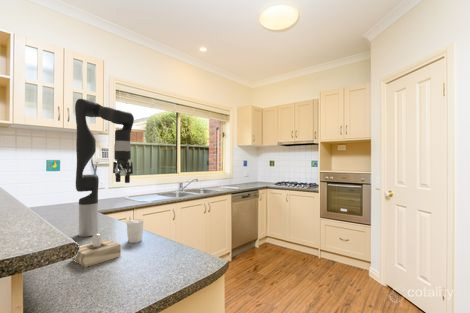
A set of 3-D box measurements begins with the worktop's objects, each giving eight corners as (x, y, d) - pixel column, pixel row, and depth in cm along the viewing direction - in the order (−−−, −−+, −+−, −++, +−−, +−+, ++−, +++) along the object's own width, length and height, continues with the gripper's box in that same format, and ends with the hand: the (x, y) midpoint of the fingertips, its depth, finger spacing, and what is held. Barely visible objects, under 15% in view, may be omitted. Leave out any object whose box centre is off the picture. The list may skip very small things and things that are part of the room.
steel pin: (91, 258, 102) (91, 234, 102) (98, 256, 104) (98, 232, 104) (94, 260, 100) (94, 235, 100) (102, 257, 103) (102, 234, 103)
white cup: (127, 239, 126) (127, 220, 127) (143, 237, 129) (143, 218, 129) (126, 244, 119) (126, 223, 119) (143, 242, 122) (143, 222, 122)
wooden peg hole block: (72, 260, 100) (72, 247, 100) (106, 249, 111) (106, 238, 111) (85, 267, 93) (85, 254, 93) (120, 255, 104) (120, 243, 104)
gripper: (108, 150, 123) (107, 182, 123) (123, 149, 115) (123, 183, 115) (122, 150, 130) (122, 181, 129) (137, 150, 121) (137, 182, 121)
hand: (122, 182), depth 122 cm, fingers open, 8 cm apart
